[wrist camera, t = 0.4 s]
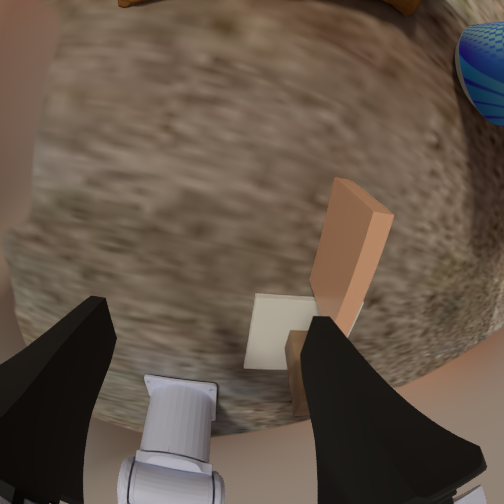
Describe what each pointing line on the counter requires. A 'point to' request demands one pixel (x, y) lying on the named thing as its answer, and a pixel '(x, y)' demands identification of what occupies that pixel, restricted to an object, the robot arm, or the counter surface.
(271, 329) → the mat
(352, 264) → the tile
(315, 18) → the counter surface
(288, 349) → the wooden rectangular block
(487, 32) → the beer can
